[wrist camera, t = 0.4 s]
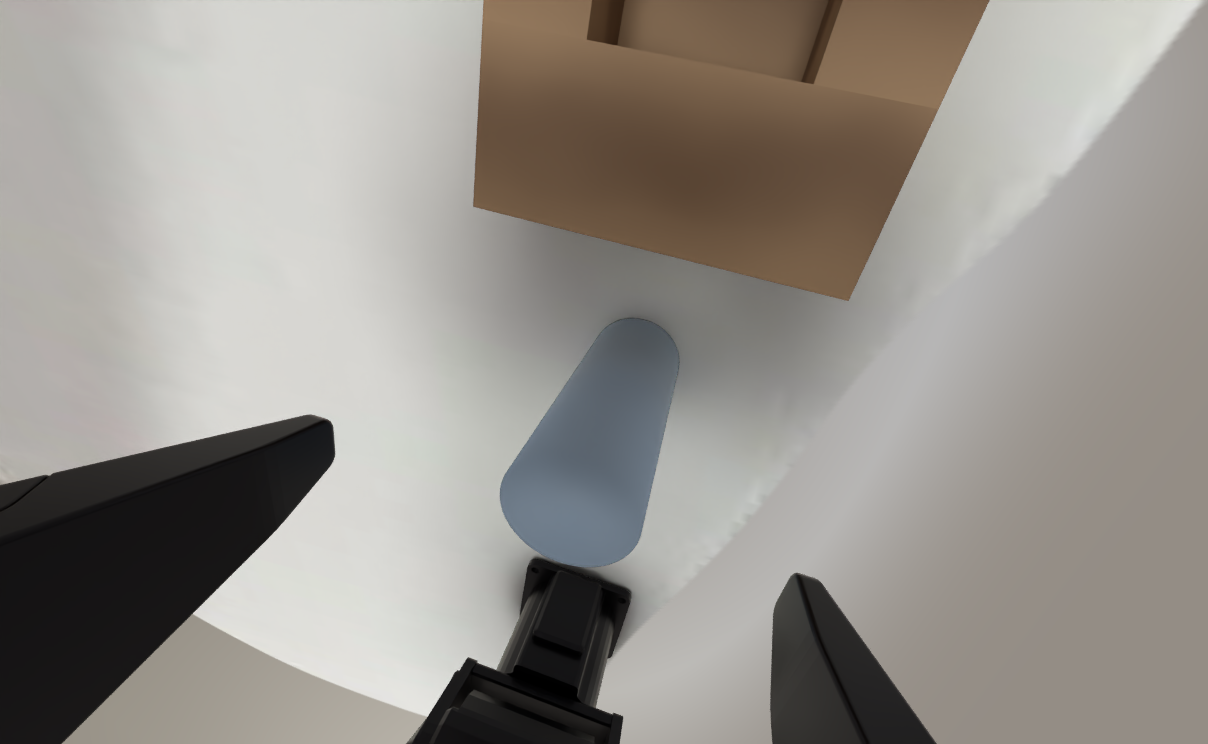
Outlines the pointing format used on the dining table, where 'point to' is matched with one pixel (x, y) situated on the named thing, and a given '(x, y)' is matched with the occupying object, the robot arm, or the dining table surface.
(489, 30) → the socket block
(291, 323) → the dining table surface
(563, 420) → the pin
